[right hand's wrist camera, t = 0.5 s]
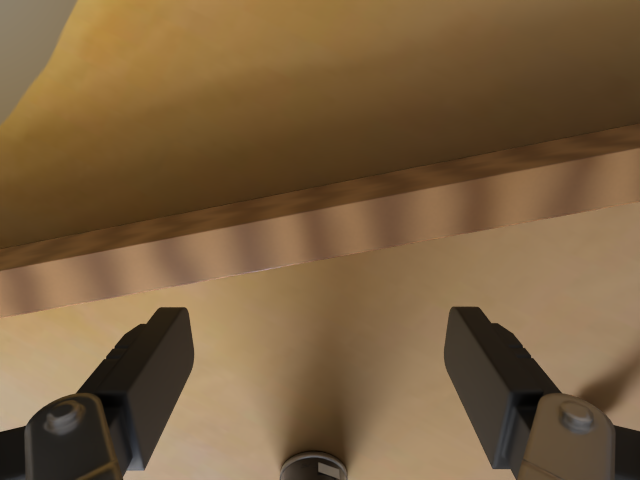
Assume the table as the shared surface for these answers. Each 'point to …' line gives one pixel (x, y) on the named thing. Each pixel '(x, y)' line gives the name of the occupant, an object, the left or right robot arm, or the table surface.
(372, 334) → the table surface
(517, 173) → the bar
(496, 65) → the table surface
